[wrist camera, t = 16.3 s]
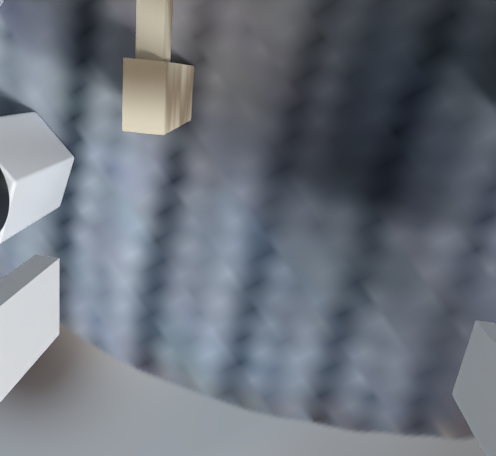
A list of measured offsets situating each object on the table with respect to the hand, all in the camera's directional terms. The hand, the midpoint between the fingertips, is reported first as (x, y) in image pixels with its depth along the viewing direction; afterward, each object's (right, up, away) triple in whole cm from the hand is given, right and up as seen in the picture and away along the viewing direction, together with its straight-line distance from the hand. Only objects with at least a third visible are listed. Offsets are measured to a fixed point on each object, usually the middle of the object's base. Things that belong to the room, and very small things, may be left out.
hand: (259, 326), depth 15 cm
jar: (-19, +8, +23) cm, 31 cm away
